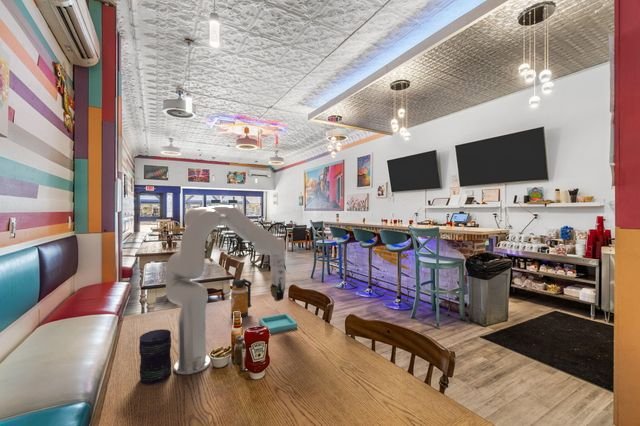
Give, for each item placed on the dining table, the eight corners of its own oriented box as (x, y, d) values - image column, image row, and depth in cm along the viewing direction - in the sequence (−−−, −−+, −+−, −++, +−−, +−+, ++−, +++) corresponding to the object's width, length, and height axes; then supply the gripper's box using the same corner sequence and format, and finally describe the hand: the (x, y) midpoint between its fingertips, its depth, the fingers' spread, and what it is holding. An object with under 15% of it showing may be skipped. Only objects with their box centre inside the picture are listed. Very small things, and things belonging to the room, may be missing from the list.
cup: (282, 303, 144) (282, 287, 144) (268, 302, 145) (268, 286, 145) (287, 298, 151) (286, 283, 151) (273, 297, 153) (273, 282, 152)
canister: (230, 314, 165) (229, 278, 164) (250, 311, 169) (249, 276, 169) (232, 319, 157) (232, 282, 156) (253, 316, 161) (253, 280, 161)
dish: (297, 328, 145) (297, 323, 145) (267, 334, 138) (267, 329, 138) (286, 318, 159) (286, 313, 158) (258, 323, 152) (258, 318, 152)
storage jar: (143, 372, 107) (142, 331, 106) (173, 367, 110) (172, 327, 110) (136, 388, 97) (136, 343, 97) (169, 381, 101) (169, 338, 101)
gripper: (290, 264, 142) (290, 301, 142) (278, 259, 157) (278, 292, 158) (275, 266, 138) (276, 303, 139) (265, 260, 154) (265, 294, 154)
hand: (277, 297), depth 148 cm, fingers closed on cup, 6 cm apart
